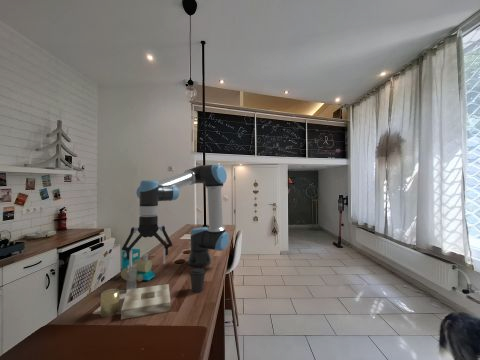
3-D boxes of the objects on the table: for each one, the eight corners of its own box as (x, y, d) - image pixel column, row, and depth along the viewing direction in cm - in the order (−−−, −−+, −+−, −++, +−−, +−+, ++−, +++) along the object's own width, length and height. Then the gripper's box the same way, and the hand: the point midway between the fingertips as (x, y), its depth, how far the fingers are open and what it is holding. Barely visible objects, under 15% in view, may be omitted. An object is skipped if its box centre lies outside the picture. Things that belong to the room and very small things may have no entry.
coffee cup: (208, 287, 112) (208, 267, 112) (200, 295, 104) (200, 273, 104) (194, 285, 114) (194, 265, 115) (185, 292, 107) (185, 271, 107)
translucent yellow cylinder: (120, 306, 94) (120, 287, 94) (117, 315, 88) (117, 294, 88) (102, 309, 92) (102, 290, 92) (98, 318, 86) (99, 297, 86)
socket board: (168, 291, 108) (168, 283, 108) (170, 310, 91) (170, 302, 91) (127, 297, 102) (127, 289, 102) (121, 319, 85) (121, 310, 85)
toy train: (147, 282, 118) (147, 254, 118) (120, 279, 122) (121, 252, 122) (156, 276, 126) (156, 250, 126) (130, 274, 129) (131, 248, 130)
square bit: (136, 288, 111) (136, 263, 112) (135, 291, 108) (136, 266, 108) (127, 289, 110) (127, 264, 110) (126, 292, 106) (126, 267, 107)
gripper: (177, 213, 106) (176, 258, 105) (118, 215, 97) (117, 264, 96) (178, 215, 99) (178, 263, 98) (114, 217, 90) (113, 271, 89)
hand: (147, 264), depth 97 cm, fingers open, 13 cm apart
